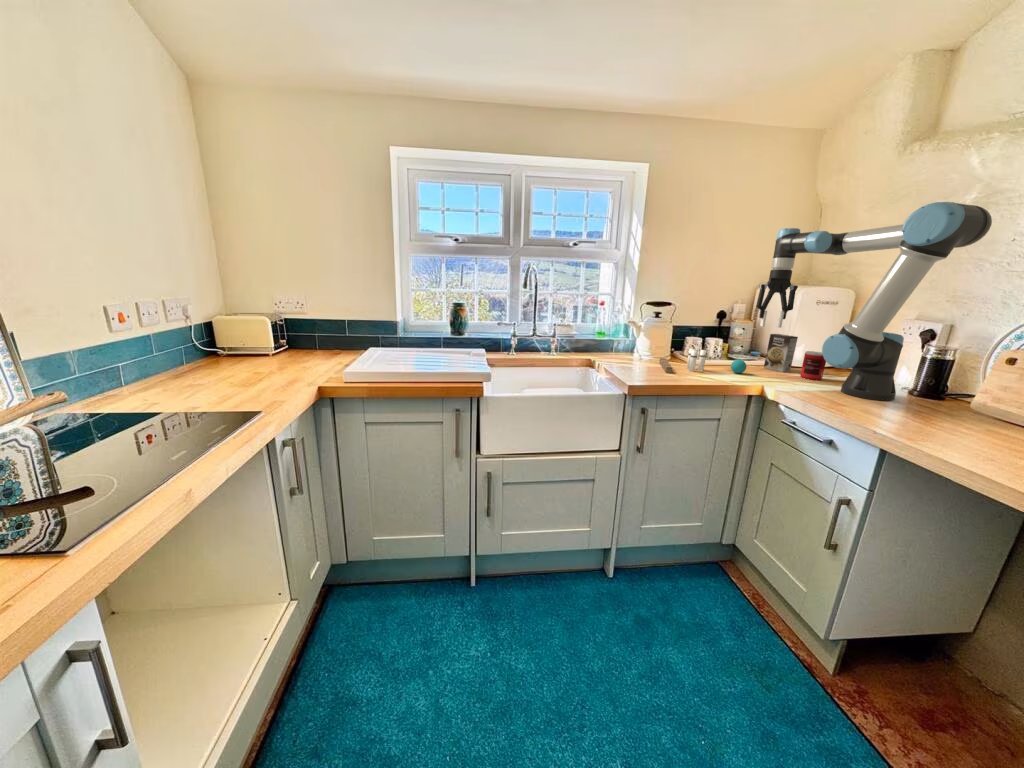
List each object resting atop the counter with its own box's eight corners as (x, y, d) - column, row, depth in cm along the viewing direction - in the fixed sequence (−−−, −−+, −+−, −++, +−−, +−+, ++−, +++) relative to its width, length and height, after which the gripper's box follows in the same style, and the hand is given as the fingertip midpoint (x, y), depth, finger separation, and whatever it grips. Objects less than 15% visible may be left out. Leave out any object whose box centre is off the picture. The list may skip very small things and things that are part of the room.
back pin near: (695, 371, 179) (698, 351, 176) (689, 371, 179) (692, 350, 177) (694, 370, 181) (697, 350, 179) (688, 370, 181) (691, 350, 179)
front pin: (704, 371, 180) (707, 351, 178) (698, 370, 181) (701, 350, 178) (702, 370, 183) (706, 350, 180) (697, 369, 183) (700, 349, 181)
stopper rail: (671, 373, 174) (672, 367, 173) (665, 372, 174) (666, 367, 174) (664, 363, 195) (665, 358, 194) (659, 362, 195) (659, 357, 195)
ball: (747, 375, 175) (749, 361, 174) (731, 374, 176) (734, 360, 175) (742, 372, 181) (744, 358, 179) (727, 371, 182) (730, 357, 181)
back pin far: (692, 369, 183) (695, 349, 181) (686, 368, 184) (689, 349, 182) (691, 368, 186) (694, 348, 184) (685, 367, 186) (688, 348, 184)
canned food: (814, 376, 177) (820, 351, 175) (826, 381, 170) (832, 355, 167) (795, 375, 178) (801, 350, 175) (806, 380, 170) (812, 354, 168)
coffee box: (762, 368, 191) (769, 333, 187) (771, 367, 194) (777, 333, 190) (782, 372, 183) (790, 336, 179) (791, 371, 186) (798, 336, 182)
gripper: (803, 270, 167) (791, 327, 173) (753, 268, 171) (743, 324, 177) (812, 269, 160) (799, 329, 166) (759, 268, 164) (749, 326, 170)
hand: (770, 326), depth 171 cm, fingers open, 6 cm apart
